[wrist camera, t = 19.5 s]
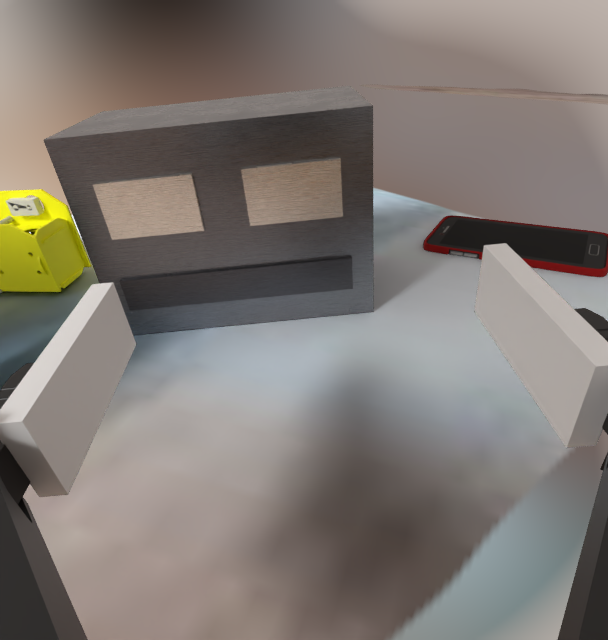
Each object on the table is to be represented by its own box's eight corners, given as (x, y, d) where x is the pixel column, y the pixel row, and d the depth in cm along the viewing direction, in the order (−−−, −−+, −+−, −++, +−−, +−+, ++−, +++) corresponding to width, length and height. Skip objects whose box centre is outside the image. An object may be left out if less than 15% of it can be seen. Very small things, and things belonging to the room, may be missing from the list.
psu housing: (119, 338, 33) (41, 140, 25) (152, 274, 42) (101, 111, 34) (373, 313, 33) (373, 106, 25) (354, 254, 41) (350, 85, 34)
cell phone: (605, 283, 34) (609, 271, 34) (419, 253, 41) (420, 243, 41) (609, 243, 40) (613, 233, 39) (444, 223, 46) (445, 214, 46)
